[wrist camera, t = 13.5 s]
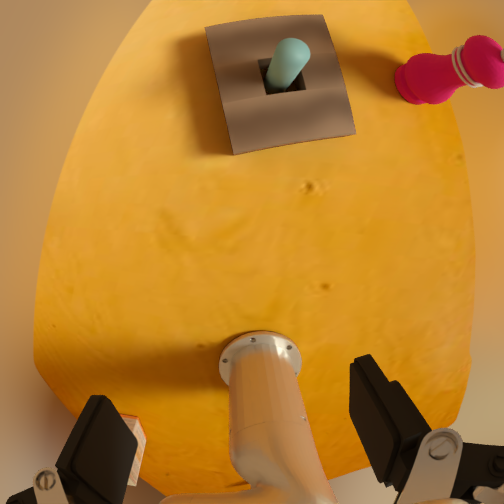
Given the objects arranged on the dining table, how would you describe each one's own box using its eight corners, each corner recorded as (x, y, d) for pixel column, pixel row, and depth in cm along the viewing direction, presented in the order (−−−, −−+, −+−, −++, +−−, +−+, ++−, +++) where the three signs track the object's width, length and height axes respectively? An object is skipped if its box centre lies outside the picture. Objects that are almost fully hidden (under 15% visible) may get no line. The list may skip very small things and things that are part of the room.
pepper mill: (382, 79, 30) (484, 36, 11) (406, 54, 29) (499, 12, 10) (415, 117, 32) (525, 105, 13) (436, 90, 30) (536, 72, 11)
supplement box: (116, 412, 44) (98, 462, 32) (138, 416, 45) (123, 468, 32) (126, 435, 47) (113, 482, 34) (147, 439, 47) (136, 487, 35)
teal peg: (290, 93, 30) (314, 64, 20) (266, 96, 31) (280, 68, 20) (284, 71, 30) (305, 36, 19) (260, 75, 30) (272, 39, 19)
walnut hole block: (343, 136, 32) (356, 133, 29) (233, 155, 33) (233, 154, 29) (314, 27, 28) (322, 14, 24) (207, 40, 28) (204, 27, 24)
